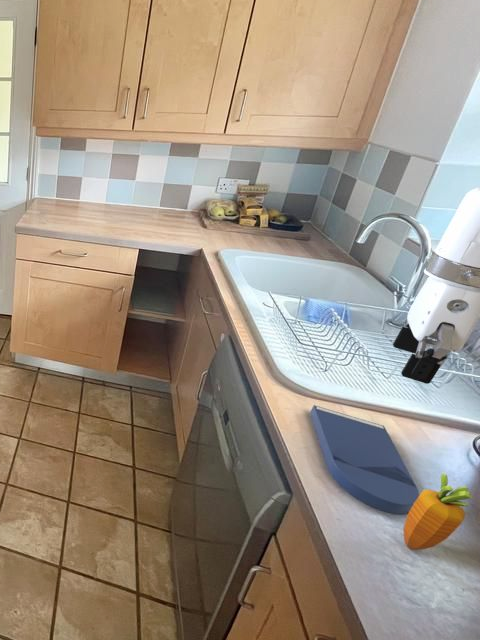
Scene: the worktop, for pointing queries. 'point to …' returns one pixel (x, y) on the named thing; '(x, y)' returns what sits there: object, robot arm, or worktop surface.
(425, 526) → the carrot
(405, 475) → the board
